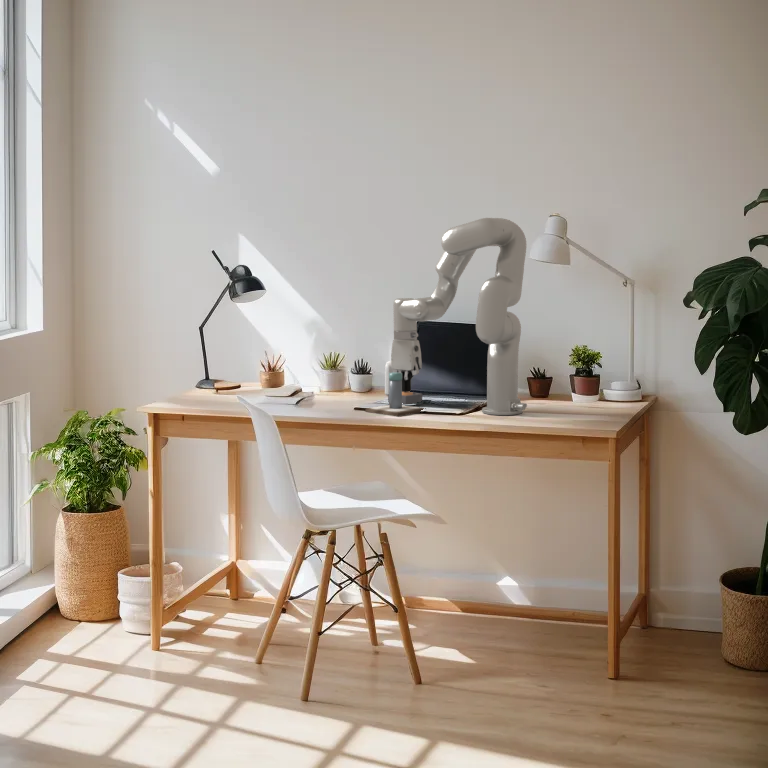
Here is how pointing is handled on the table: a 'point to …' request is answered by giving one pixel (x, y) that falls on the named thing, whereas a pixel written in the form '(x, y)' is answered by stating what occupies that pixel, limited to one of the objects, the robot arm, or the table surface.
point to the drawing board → (394, 410)
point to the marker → (395, 390)
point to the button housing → (411, 398)
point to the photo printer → (387, 376)
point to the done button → (407, 393)
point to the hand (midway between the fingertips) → (406, 391)
